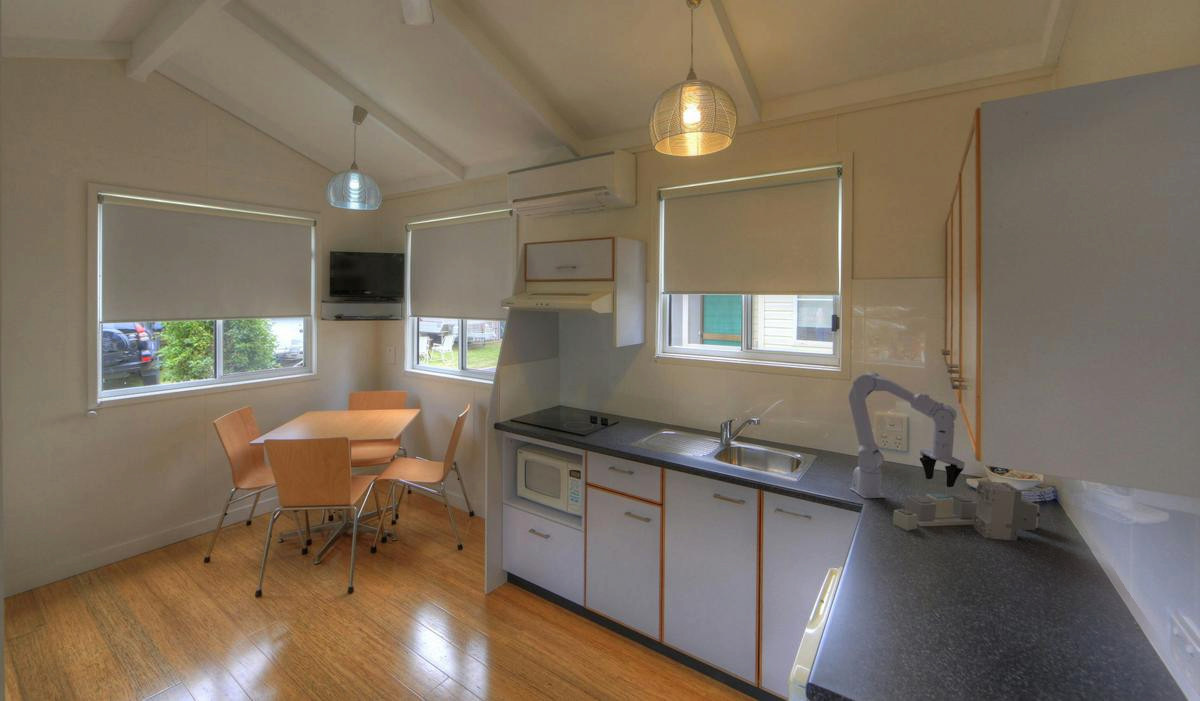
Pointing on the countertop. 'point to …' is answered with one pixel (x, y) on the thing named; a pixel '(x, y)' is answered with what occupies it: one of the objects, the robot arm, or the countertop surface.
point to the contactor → (905, 519)
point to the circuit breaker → (1003, 511)
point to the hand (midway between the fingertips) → (939, 482)
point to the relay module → (942, 504)
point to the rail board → (926, 517)
